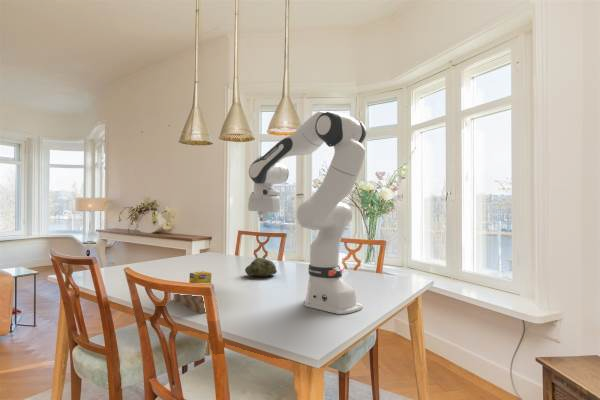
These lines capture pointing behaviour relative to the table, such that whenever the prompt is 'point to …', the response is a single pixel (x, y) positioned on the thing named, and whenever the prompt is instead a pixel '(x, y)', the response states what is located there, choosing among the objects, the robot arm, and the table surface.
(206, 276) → the supplement box
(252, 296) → the table surface
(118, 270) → the table surface
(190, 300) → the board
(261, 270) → the decorative rock
